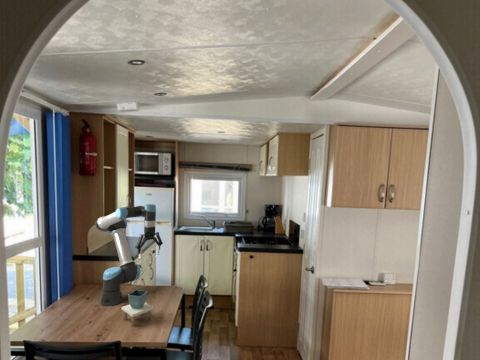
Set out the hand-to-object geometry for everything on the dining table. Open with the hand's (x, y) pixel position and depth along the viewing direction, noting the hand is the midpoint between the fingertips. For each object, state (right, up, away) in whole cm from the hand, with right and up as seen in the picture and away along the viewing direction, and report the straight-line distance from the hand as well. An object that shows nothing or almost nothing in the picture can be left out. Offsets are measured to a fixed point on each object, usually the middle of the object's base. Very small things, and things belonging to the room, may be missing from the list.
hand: (149, 256), depth 199 cm
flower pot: (-1, -27, -20) cm, 33 cm away
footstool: (-1, -35, -20) cm, 40 cm away
